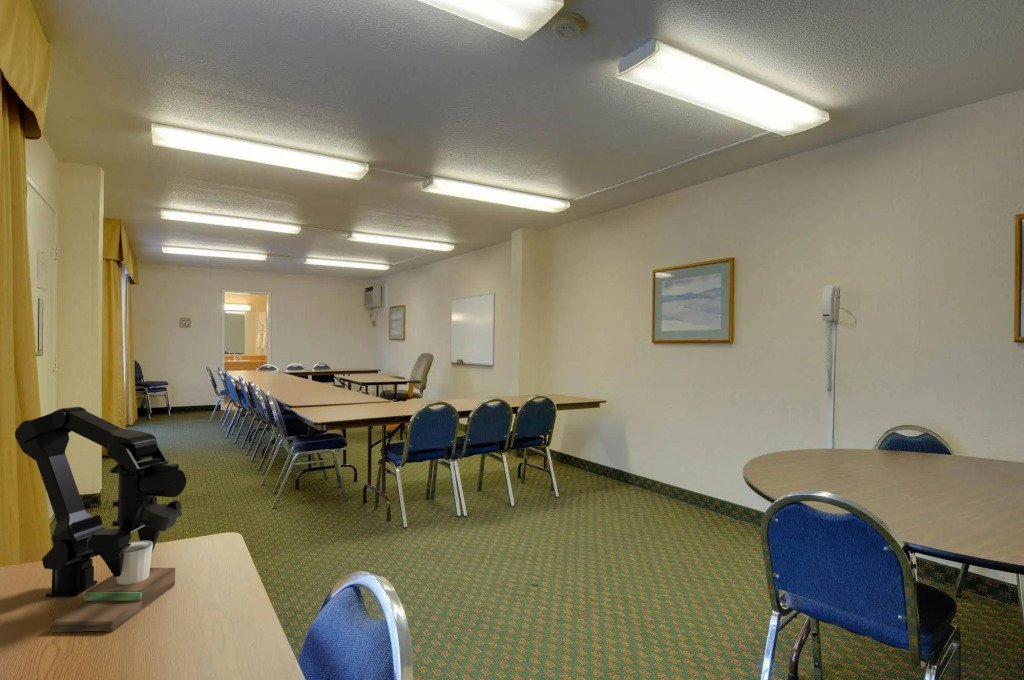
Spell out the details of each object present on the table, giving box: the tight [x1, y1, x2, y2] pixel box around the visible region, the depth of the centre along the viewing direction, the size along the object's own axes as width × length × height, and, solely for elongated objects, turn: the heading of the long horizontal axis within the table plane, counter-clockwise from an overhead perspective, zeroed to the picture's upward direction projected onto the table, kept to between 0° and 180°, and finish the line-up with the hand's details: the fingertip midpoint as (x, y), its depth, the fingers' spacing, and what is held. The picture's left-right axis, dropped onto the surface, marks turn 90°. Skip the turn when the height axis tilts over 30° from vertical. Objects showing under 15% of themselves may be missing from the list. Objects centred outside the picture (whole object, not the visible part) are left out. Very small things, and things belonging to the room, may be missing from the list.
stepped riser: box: [50, 567, 176, 633], centre depth 107 cm, size 11×19×4 cm, turn 2°
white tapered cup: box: [116, 540, 153, 585], centre depth 111 cm, size 7×7×7 cm
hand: (133, 566), depth 111 cm, fingers open, 9 cm apart
